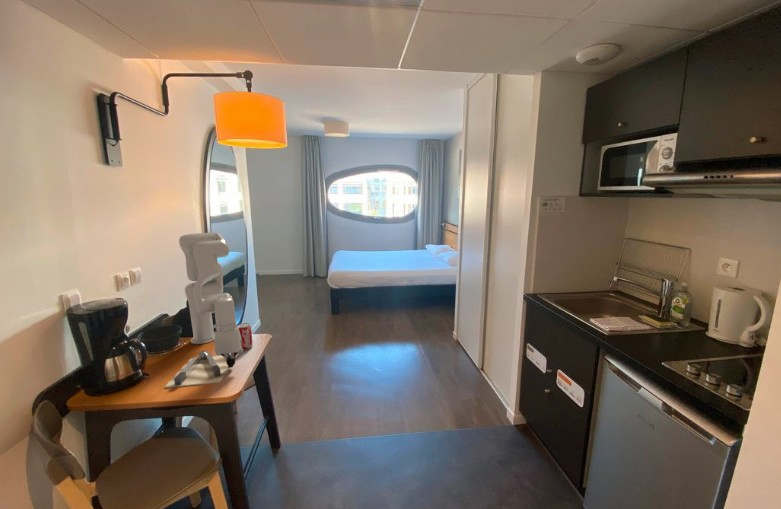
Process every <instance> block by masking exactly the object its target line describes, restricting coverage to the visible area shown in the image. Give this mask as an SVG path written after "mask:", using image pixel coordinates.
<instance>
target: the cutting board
mask: <svg viewBox="0 0 781 509" xmlns="http://www.w3.org/2000/svg"><path fill="white" fill-rule="evenodd" d="M230 356H231V354H230ZM238 356H239V354H237V355H236V356H235V360H236V359H237V357H238ZM212 357H213V359H214V360H215V362H216V364H217V365H218V366H219V368H220V372H221V375H219V376H216V377H215V376H214V374H213V372H212V370H211V368H210V366H209V364H208V362H207V360H206V359H205V360H200V362H199V363H198V364H197V365H196V367H195V368H194V369H193V370H192V371H191V373H190V374H189V375H188V376H187V378H186V379H185V380H184V381H183V382H182V384H179V385H175V382H174V378H175V377H176V376H177V375H178V374H179V373H180V372H181V371H182V370H183V369H184V368H185V367H186V366H187V364H188V363H189V362H190V361H191V360H192V359H193V358H194V357H191V358H190V359H189V360H188V361H187V362H186V363H185V364H184V365H183V366H182V367H181V368H180V370H178V371H177V372H176V373H175V375H174V376H172V378H171V379H170V380H169V381H168V382H167V384H166V385H165V386H163V389H172V388H180V387H190V386H201V385H208V384H217V383H218V384H219V383H222V381H223V379H224V378H225V376H226V374H227V373H228V371H229V370H230V368H228V365H227V361H226V359H225V358H224V357H223V356H222V355H212Z"/></svg>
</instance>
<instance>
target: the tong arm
mask: <svg viewBox="0 0 781 509" xmlns="http://www.w3.org/2000/svg"><path fill="white" fill-rule="evenodd" d="M212 356H213V355H212V354H211V352H208V350H201V351H199V352H198V357H199V360H205V359H206V360H207V362H208V364H209V366H210V368H211V370H212V372H213V374H214V376H215V377H216V376H219V375H221V372H220V368H219V366H218V365H217V364H216V362H215V360H214V359H213V357H212Z"/></svg>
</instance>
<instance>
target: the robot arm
mask: <svg viewBox="0 0 781 509" xmlns="http://www.w3.org/2000/svg"><path fill="white" fill-rule="evenodd" d="M178 243H179V247H180V249H181V251H182V252H183V254H184V257H185V265H186V266H185V269H186V274H187V278H188V280H189V281H191V283H188V284H187V285H186V286H185V288H184V292H185V297H186V300H187V303H188V308H189V314H190V320H191V327H192V334H193V337H192V338H190V344H193V345H202V344H208V343H210V342H214V346H213V347H214V353H215V356H221V355H222V356H223V357H224V358H225V359H226V361H227V365H228V368H229V369H230V368H233V367H234V365H235V364H236V359H235V356H236V355H237V354H238V355H239V354H241V353H243V351H244V350H243V349H242V339H241V335H240V331H239V328H238V327H237V321H236V312H235V301H234V299H233V296H232V295H231V294H230V293H228V292H224V277H223V268H222V264H221V263H220V261H219V260H218V259H219V258H226V257H228V256H229V255H230V247H229V244H228V243H227V241H226V240H225V238H224V237H223V236H222V235H221V234H220V233H219V232H217V231H216V232H215V231H214V232H203V233H202V232H201V233H189V234H183V235H181V236H180V237H179V239H178ZM212 314H214V318H215V324H214V323H213V316H212ZM214 329H215V330H214ZM230 355H231V356H230Z"/></svg>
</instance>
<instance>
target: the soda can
mask: <svg viewBox="0 0 781 509" xmlns="http://www.w3.org/2000/svg"><path fill="white" fill-rule="evenodd" d="M236 327H238V328H239V331H240V335H241V339H242V349H243V351H246V350H247V349H248V350H250V349H251V348H252V347H253V344H254V343H253V335H252V334H253V332H252V327H251V326H250V323H248V322H245V323H243V322H242V323H239V324H236Z"/></svg>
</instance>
